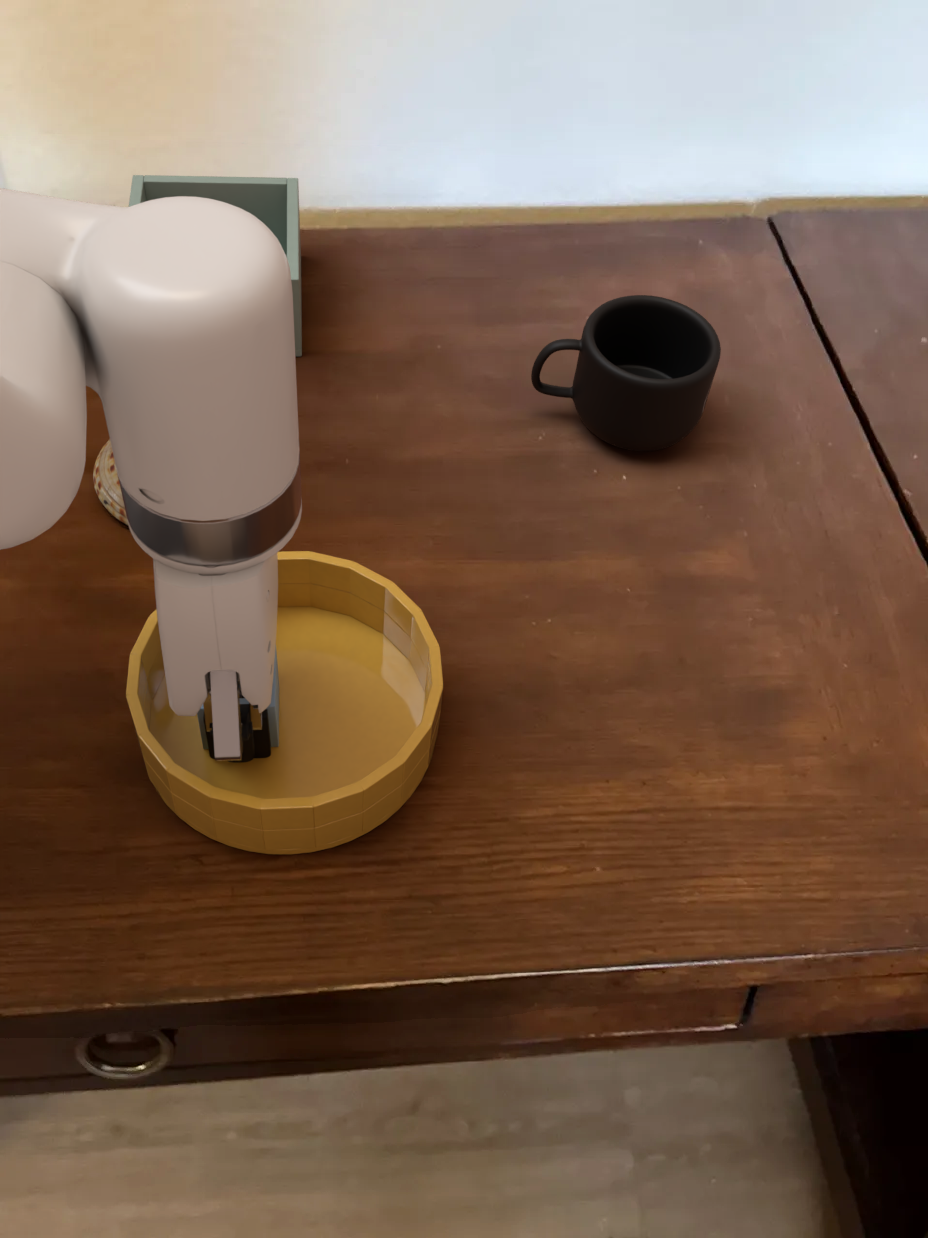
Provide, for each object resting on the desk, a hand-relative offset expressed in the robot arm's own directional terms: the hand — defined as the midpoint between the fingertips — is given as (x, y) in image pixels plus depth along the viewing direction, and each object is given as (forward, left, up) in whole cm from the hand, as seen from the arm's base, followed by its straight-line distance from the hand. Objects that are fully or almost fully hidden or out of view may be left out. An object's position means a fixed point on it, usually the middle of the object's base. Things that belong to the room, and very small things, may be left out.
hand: (241, 714), depth 66 cm
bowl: (+3, 0, -1) cm, 3 cm away
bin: (-2, +36, -1) cm, 36 cm away
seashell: (-5, +18, -1) cm, 19 cm away
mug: (+25, +24, -1) cm, 34 cm away
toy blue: (0, 0, 0) cm, 0 cm away
